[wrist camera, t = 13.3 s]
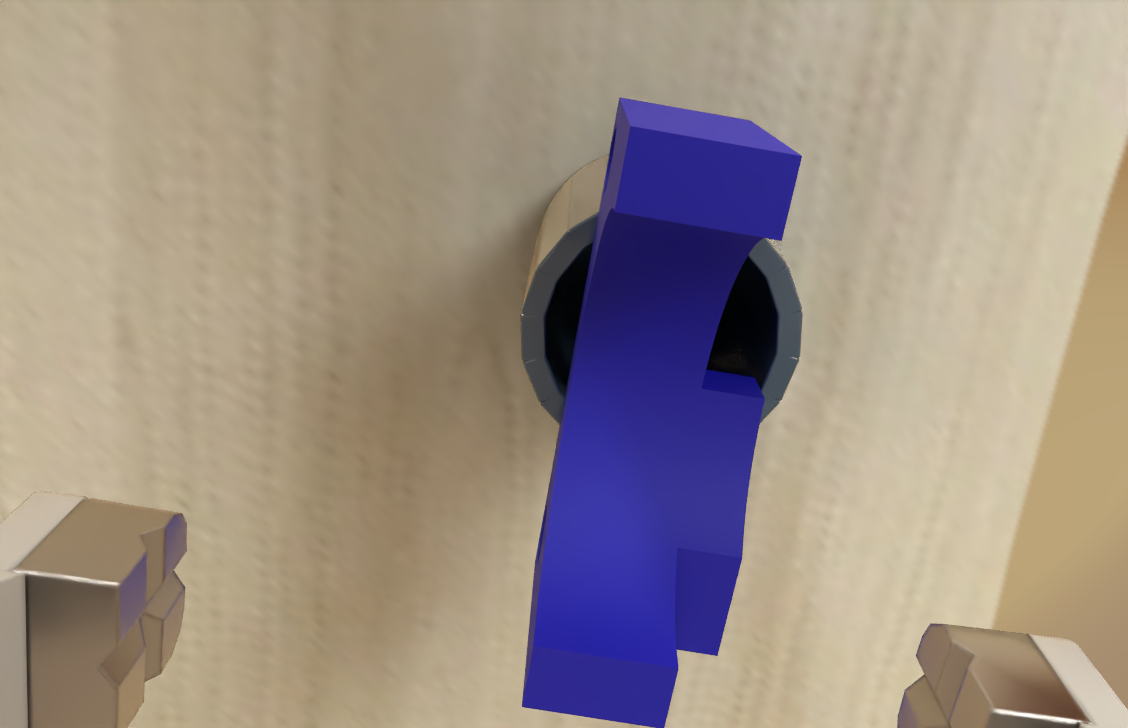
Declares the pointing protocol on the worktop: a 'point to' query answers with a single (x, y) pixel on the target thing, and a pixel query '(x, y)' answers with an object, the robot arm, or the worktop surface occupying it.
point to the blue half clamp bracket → (653, 418)
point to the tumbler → (557, 282)
